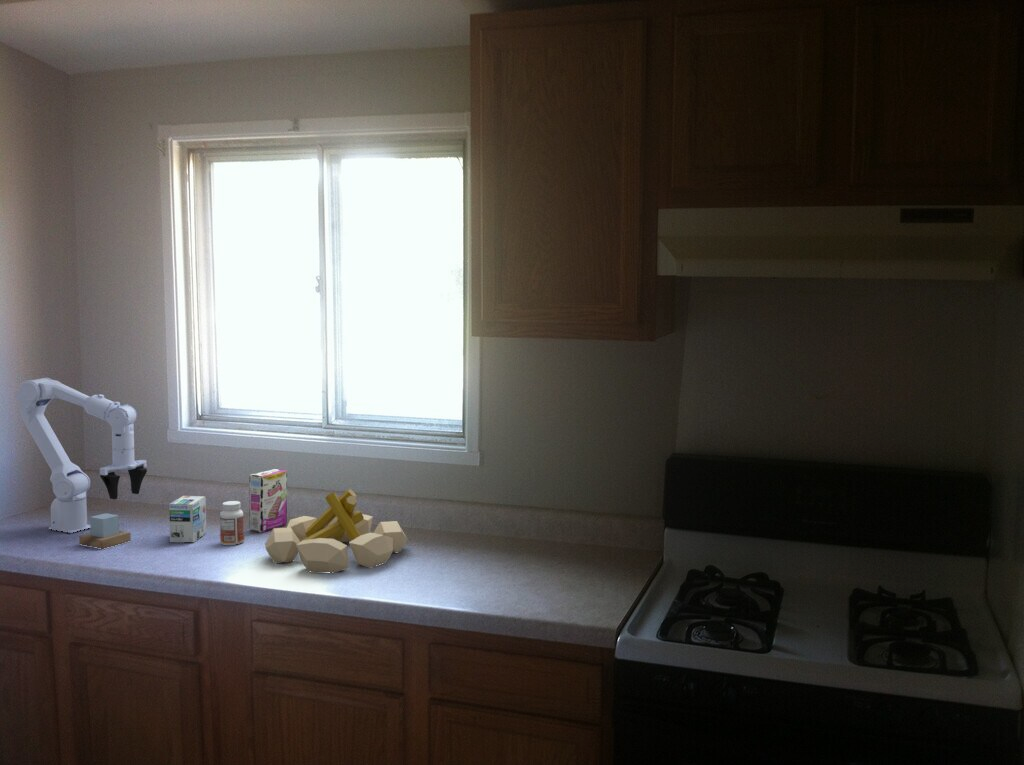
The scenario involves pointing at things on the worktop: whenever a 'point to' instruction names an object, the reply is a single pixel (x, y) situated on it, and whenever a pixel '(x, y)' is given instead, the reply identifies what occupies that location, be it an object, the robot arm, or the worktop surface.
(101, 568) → the worktop surface
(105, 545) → the walnut slab
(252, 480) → the candy bar box
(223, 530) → the pill bottle
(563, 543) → the worktop surface
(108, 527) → the slate cube
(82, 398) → the robot arm
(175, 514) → the light bulb box
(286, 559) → the campfire
